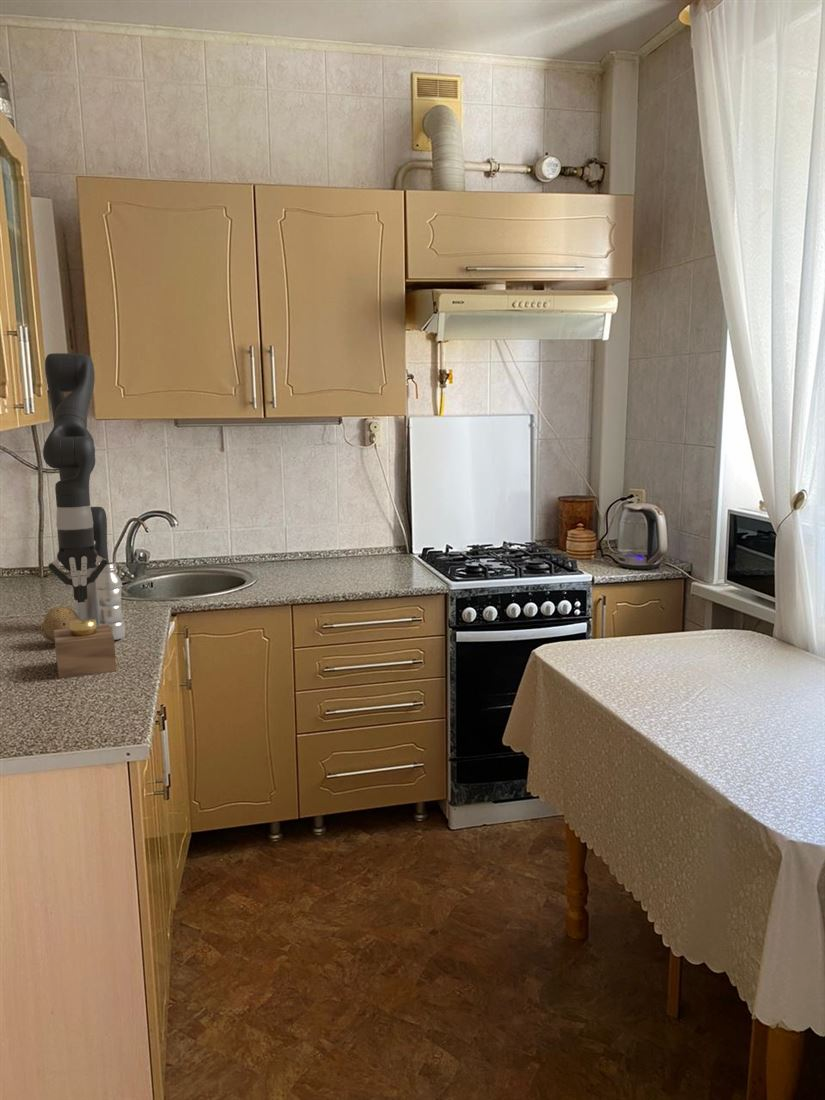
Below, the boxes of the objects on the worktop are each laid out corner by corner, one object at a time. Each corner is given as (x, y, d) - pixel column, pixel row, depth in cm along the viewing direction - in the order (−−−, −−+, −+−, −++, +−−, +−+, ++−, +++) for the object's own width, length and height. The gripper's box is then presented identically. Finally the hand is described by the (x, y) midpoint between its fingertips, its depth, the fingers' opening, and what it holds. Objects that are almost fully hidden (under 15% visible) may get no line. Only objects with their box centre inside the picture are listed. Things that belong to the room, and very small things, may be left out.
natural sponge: (86, 645, 211) (83, 606, 210) (49, 651, 206) (46, 612, 204) (75, 638, 218) (72, 601, 217) (39, 644, 213) (36, 606, 211)
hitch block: (56, 663, 195) (54, 630, 194) (110, 656, 200) (108, 624, 199) (58, 678, 184) (55, 643, 182) (116, 671, 189) (113, 636, 187)
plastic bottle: (117, 635, 221) (111, 560, 218) (131, 639, 216) (125, 563, 213) (94, 640, 216) (88, 564, 213) (108, 644, 211) (101, 566, 209)
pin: (72, 661, 193) (69, 620, 192) (98, 658, 196) (95, 617, 194) (73, 667, 188) (70, 625, 187) (100, 664, 191) (96, 622, 189)
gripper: (104, 522, 193) (110, 596, 196) (42, 526, 188) (48, 601, 190) (107, 526, 186) (113, 601, 189) (43, 530, 181) (49, 608, 184)
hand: (80, 601), depth 190 cm, fingers closed
